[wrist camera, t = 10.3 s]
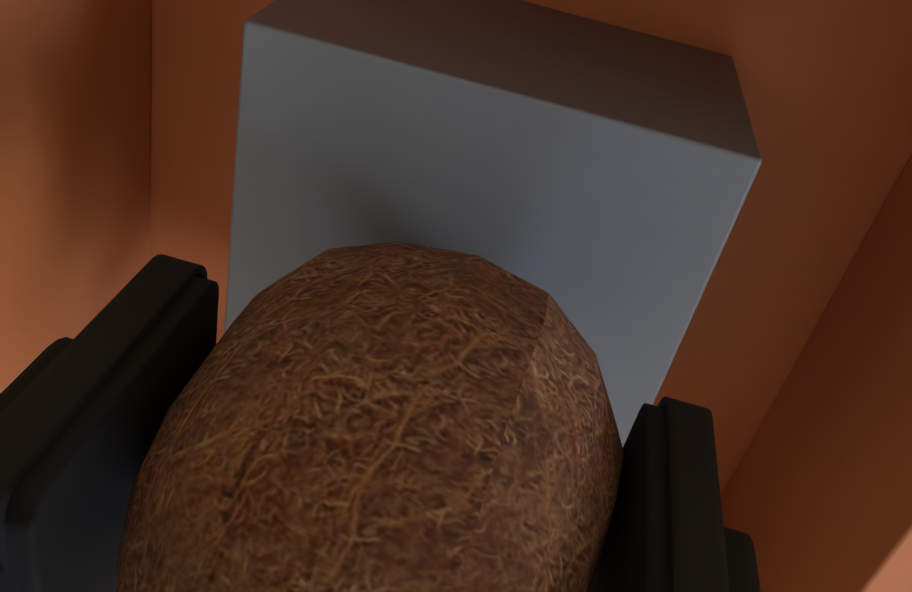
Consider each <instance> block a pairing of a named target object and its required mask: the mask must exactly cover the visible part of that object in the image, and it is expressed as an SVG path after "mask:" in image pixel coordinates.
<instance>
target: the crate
mask: <svg viewBox="0 0 912 592" xmlns="http://www.w3.org/2000/svg"><path fill="white" fill-rule="evenodd" d="M273 1H274V0H0V394H1V393H2V392H3V391H4V390H5V389H6V388H7V387H8V386H9V385H10V384H11V383H12V382H13V381H14V380H15V379H16V378H17V377H18V376H19V375H20V374H21V373H22V372H23V371H24V370H25V369H26V368H27V367H28V366H29V365H30V364H31V363H32V362H33V361H34V360H35V359H36V358H37V357H38V356H39V355H40V354H41V353H42V352H43V351H44V350H45V349H46V348H47V347H48V346H49V345H51V344H52V343H53V342H54V341H56V340H57V339H60V338H64V337H68V338H72V339H74V338H75V337H76V336H77V335H78V334H79V333H80V332H81V331H82V330H83V329H84V328H85V327H86V326H87V325H88V324H89V323H90V322H91V321H92V320H93V319H94V317H95V316H96V315H97V314H98V313H99V312H100V311H101V310H102V309H103V308H104V307H105V306H106V305H107V304H108V303H109V302H110V301H111V300H112V299H113V298H114V297H115V296H116V295H117V294H118V293H119V292H120V291H121V290H122V289H123V288H124V287H125V286H126V285H127V284H128V283H129V282H130V280H131V279H132V278H133V277H134V276H135V275H136V274H137V273H138V272H139V271H140V270H141V269H142V268H143V267H144V266H145V265H146V264H147V263H148V262H149V261H150V260H151V259H152V258H153V257H155V256H156V255H157V254H164V255H167V256H171V257H174V258H178V259H182V260H185V261H189V262H192V263H196V264H199V265H203V266H204V267H205V268H206V271H207V279H209V280H213V281H216V282H217V283H218V286H219V301H218V319H217V336H216V344H217V343H218V342H219V340H220V339H221V337H222V336H223V335H224V325H225V309H226V293H227V278H228V262H229V246H230V230H231V214H232V198H233V182H234V167H235V151H236V135H237V119H238V103H239V87H240V71H241V56H242V40H243V24H244V21H245V20H246V19H248V18H249V17H251V16H252V15H253V14H255V13H256V12H258V11H259V10H261V9H262V8H264V7H265V6H267V5H268V4H270V3H271V2H273ZM521 1H524V2H528V3H532V4H536V5H540V6H543V7H547V8H551V9H555V10H558V11H562V12H566V13H570V14H574V15H577V16H581V17H585V18H589V19H593V20H596V21H600V22H604V23H608V24H611V25H615V26H619V27H623V28H627V29H630V30H634V31H638V32H642V33H645V34H649V35H653V36H657V37H661V38H664V39H668V40H672V41H676V42H680V43H683V44H687V45H691V46H695V47H698V48H702V49H706V50H710V51H714V52H717V53H721V54H725V55H729V56H731V57H732V58H733V60H734V64H735V67H736V71H737V74H738V78H739V81H740V85H741V88H742V92H743V95H744V99H745V102H746V106H747V109H748V113H749V116H750V120H751V123H752V127H753V130H754V134H755V137H756V141H757V144H758V148H759V151H760V155H761V158H762V163H761V165H760V168H759V170H758V172H757V174H756V177H755V179H754V181H753V183H752V185H751V188H750V190H749V192H748V194H747V197H746V199H745V201H744V203H743V205H742V208H741V210H740V212H739V214H738V217H737V219H736V221H735V223H734V225H733V228H732V230H731V232H730V234H729V237H728V239H727V241H726V243H725V245H724V248H723V250H722V252H721V254H720V257H719V259H718V261H717V263H716V265H715V268H714V270H713V272H712V274H711V276H710V279H709V281H708V283H707V285H706V288H705V290H704V292H703V294H702V296H701V299H700V301H699V303H698V305H697V308H696V310H695V312H694V314H693V316H692V319H691V321H690V323H689V325H688V328H687V330H686V332H685V334H684V336H683V339H682V341H681V343H680V345H679V348H678V350H677V352H676V354H675V356H674V359H673V361H672V363H671V365H670V368H669V370H668V372H667V374H666V376H665V379H664V381H663V383H662V385H661V387H660V390H659V392H658V394H657V396H656V399H655V401H654V403H653V405H654V406H657V405H658V404H659V402H660V400H661V399H662V398H663V397H665V396H666V397H670V398H673V399H677V400H680V401H684V402H687V403H691V404H694V405H698V406H701V407H705V408H708V409H710V410H711V412H712V416H713V426H714V436H715V446H716V456H717V467H718V477H719V487H720V497H721V508H722V518H723V527H727V528H730V529H734V530H737V531H740V532H744V533H747V534H748V535H749V536H750V538H751V539H752V541H753V545H754V549H755V553H756V561H757V568H758V575H759V583H760V590H761V592H912V0H521Z"/></svg>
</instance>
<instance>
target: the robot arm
mask: <svg viewBox="0 0 912 592" xmlns="http://www.w3.org/2000/svg"><path fill="white" fill-rule="evenodd" d="M218 301H219V286H218V283H217V282H216V281H213V280H209V279H207V271H206V268H205V267H204V266H203V265H199V264H196V263H192V262H189V261H185V260H182V259H178V258H174V257H171V256H167V255H164V254H157V255H156V256H155V257H153V258H152V259H151V260H150V261H149V262H148V263H147V264H146V265H145V266H144V267H143V268H142V269H141V270H140V271H139V272H138V273H137V274H136V275H135V276H134V277H133V278H132V279H131V280H130V282H129V283H128V284H127V285H126V286H125V287H124V288H123V289H122V290H121V291H120V292H119V293H118V294H117V295H116V296H115V297H114V298H113V299H112V300H111V301H110V302H109V303H108V304H107V305H106V306H105V307H104V308H103V309H102V310H101V311H100V312H99V313H98V314H97V315H96V316H95V317H94V319H93V320H92V321H91V322H90V323H89V324H88V325H87V326H86V327H85V328H84V329H83V330H82V331H81V332H80V333H79V334H78V335H77V336H76V337H75V338H74V339H72V338H68V337H64V338H60V339H57V340H56V341H54V342H53V343H52V344H51V345H49V346H48V347H47V348H46V349H45V350H44V351H43V352H42V353H41V354H40V355H39V356H38V357H37V358H36V359H35V360H34V361H33V362H32V363H31V364H30V365H29V366H28V367H27V368H26V369H25V370H24V371H23V372H22V373H21V374H20V375H19V376H18V377H17V378H16V379H15V380H14V381H13V382H12V383H11V384H10V385H9V386H8V387H7V388H6V389H5V390H4V391H3V392H2V393H1V394H0V592H116V575H117V557H118V548H119V544H120V540H121V535H122V531H123V526H124V522H125V518H126V513H127V509H128V504H129V500H130V496H131V491H132V487H133V483H134V480H135V478H136V476H137V474H138V471H139V469H140V467H141V465H142V463H143V461H144V459H145V457H146V455H147V453H148V451H149V449H150V446H151V444H152V442H153V440H154V438H155V436H156V434H157V432H158V430H159V428H160V426H161V424H162V422H163V419H164V417H165V415H166V413H167V411H168V409H169V407H170V406H171V405H172V403H173V402H174V401H175V399H176V398H177V397H178V395H179V394H180V392H181V391H182V390H183V388H184V387H185V386H186V384H187V383H188V382H189V380H190V379H191V378H192V376H193V375H194V374H195V372H196V371H197V370H198V368H199V367H200V366H201V364H202V363H203V362H204V360H205V359H206V358H207V356H208V355H209V354H210V352H211V351H212V350H213V348H214V347H215V346H216V336H217V319H218ZM623 450H624V457H623V463H622V469H621V475H620V480H619V486H618V492H617V498H616V502H615V506H614V510H613V513H612V517H611V521H610V525H609V529H608V533H607V537H606V541H605V544H604V548H603V552H602V556H601V560H600V564H599V567H598V571H597V574H596V578H595V581H594V585H593V588H592V591H591V592H761V590H760V583H759V575H758V568H757V561H756V553H755V549H754V545H753V541H752V539H751V538H750V536H749V535H748V534H747V533H744V532H740V531H737V530H734V529H730V528H727V527H723V518H722V508H721V497H720V487H719V477H718V467H717V456H716V446H715V436H714V426H713V416H712V412H711V410H710V409H708V408H705V407H701V406H698V405H694V404H691V403H687V402H684V401H680V400H677V399H673V398H670V397H666V396H665V397H663V398H662V399H661V400H660V402H659V404H658V405H657V406H654V405H651V404H647V403H644V404H643V405H642V406H641V408H640V410H639V412H638V415H637V417H636V419H635V421H634V424H633V426H632V428H631V430H630V433H629V435H628V437H627V440H626V442H625V444H624V446H623Z"/></svg>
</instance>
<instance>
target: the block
mask: <svg viewBox="0 0 912 592" xmlns="http://www.w3.org/2000/svg"><path fill="white" fill-rule="evenodd" d="M761 163H762V158H761V155H760V151H759V148H758V144H757V141H756V137H755V134H754V130H753V127H752V123H751V120H750V116H749V113H748V109H747V106H746V102H745V99H744V95H743V92H742V88H741V85H740V81H739V78H738V74H737V71H736V67H735V64H734V60H733V58H732V57H731V56H729V55H725V54H721V53H717V52H714V51H710V50H706V49H702V48H698V47H695V46H691V45H687V44H683V43H680V42H676V41H672V40H668V39H664V38H661V37H657V36H653V35H649V34H645V33H642V32H638V31H634V30H630V29H627V28H623V27H619V26H615V25H611V24H608V23H604V22H600V21H596V20H593V19H589V18H585V17H581V16H577V15H574V14H570V13H566V12H562V11H558V10H555V9H551V8H547V7H543V6H540V5H536V4H532V3H528V2H524V1H521V0H274V1H273V2H271V3H270V4H268V5H267V6H265V7H264V8H262V9H261V10H259V11H258V12H256V13H255V14H253V15H252V16H251V17H249V18H248V19H246V20H245V21H244V24H243V40H242V56H241V71H240V87H239V103H238V119H237V135H236V151H235V167H234V182H233V198H232V214H231V230H230V246H229V262H228V278H227V293H226V309H225V325H224V333H225V332H226V331H227V329H228V328H229V327H230V325H231V324H232V323H233V321H234V320H235V319H236V318H237V317H238V316H239V314H240V313H241V312H242V311H243V310H244V308H245V307H246V306H247V305H248V304H249V302H250V301H251V300H252V299H253V298H254V296H255V295H256V294H258V293H259V292H261V291H262V290H264V289H265V288H267V287H268V286H270V285H271V284H273V283H274V282H276V281H277V280H279V279H280V278H282V277H284V276H285V275H287V274H288V273H290V272H292V271H293V270H295V269H296V268H298V267H300V266H301V265H303V264H304V263H306V262H308V261H309V260H311V259H313V258H314V257H316V256H317V255H319V254H321V253H322V252H324V251H325V250H327V249H329V248H339V247H349V246H360V245H370V244H380V243H390V242H404V243H410V244H415V245H421V246H427V247H433V248H439V249H445V250H450V251H456V252H462V253H468V254H474V255H477V256H480V257H482V258H484V259H485V260H487V261H489V262H491V263H493V264H495V265H497V266H499V267H501V268H503V269H504V270H506V271H508V272H510V273H512V274H514V275H516V276H518V277H520V278H522V279H523V280H525V281H527V282H529V283H531V284H533V285H535V286H537V287H539V288H540V289H542V290H544V291H546V292H548V293H549V294H550V295H551V296H552V298H553V299H554V300H555V302H556V303H557V304H558V306H559V307H560V308H561V309H562V311H563V312H564V313H565V315H566V316H567V317H568V319H569V320H570V321H571V322H572V324H573V325H574V326H575V328H576V329H577V330H578V332H579V333H580V334H581V336H582V337H583V338H584V339H585V341H586V342H587V343H588V345H589V346H590V347H591V349H592V350H593V351H594V352H595V354H596V357H597V360H598V363H599V367H600V370H601V373H602V377H603V380H604V383H605V387H606V390H607V393H608V397H609V400H610V404H611V407H612V410H613V414H614V417H615V421H616V424H617V428H618V432H619V435H620V439H621V443H622V447H623V446H624V444H625V442H626V440H627V437H628V435H629V433H630V430H631V428H632V426H633V424H634V421H635V419H636V417H637V415H638V412H639V410H640V408H641V406H642V405H643V404H644V403H647V404H651V405H653V403H654V401H655V399H656V396H657V394H658V392H659V390H660V387H661V385H662V383H663V381H664V379H665V376H666V374H667V372H668V370H669V368H670V365H671V363H672V361H673V359H674V356H675V354H676V352H677V350H678V348H679V345H680V343H681V341H682V339H683V336H684V334H685V332H686V330H687V328H688V325H689V323H690V321H691V319H692V316H693V314H694V312H695V310H696V308H697V305H698V303H699V301H700V299H701V296H702V294H703V292H704V290H705V288H706V285H707V283H708V281H709V279H710V276H711V274H712V272H713V270H714V268H715V265H716V263H717V261H718V259H719V257H720V254H721V252H722V250H723V248H724V245H725V243H726V241H727V239H728V237H729V234H730V232H731V230H732V228H733V225H734V223H735V221H736V219H737V217H738V214H739V212H740V210H741V208H742V205H743V203H744V201H745V199H746V197H747V194H748V192H749V190H750V188H751V185H752V183H753V181H754V179H755V177H756V174H757V172H758V170H759V168H760V165H761Z"/></svg>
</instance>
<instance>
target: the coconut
mask: <svg viewBox="0 0 912 592" xmlns="http://www.w3.org/2000/svg"><path fill="white" fill-rule="evenodd" d="M623 457H624V450H623V447H622V443H621V439H620V435H619V432H618V428H617V424H616V421H615V417H614V414H613V410H612V407H611V404H610V400H609V397H608V393H607V390H606V387H605V383H604V380H603V377H602V373H601V370H600V367H599V363H598V360H597V357H596V354H595V352H594V351H593V350H592V349H591V347H590V346H589V345H588V343H587V342H586V341H585V339H584V338H583V337H582V336H581V334H580V333H579V332H578V330H577V329H576V328H575V326H574V325H573V324H572V322H571V321H570V320H569V319H568V317H567V316H566V315H565V313H564V312H563V311H562V309H561V308H560V307H559V306H558V304H557V303H556V302H555V300H554V299H553V298H552V296H551V295H550V294H549V293H548V292H546V291H544V290H542V289H540V288H539V287H537V286H535V285H533V284H531V283H529V282H527V281H525V280H523V279H522V278H520V277H518V276H516V275H514V274H512V273H510V272H508V271H506V270H504V269H503V268H501V267H499V266H497V265H495V264H493V263H491V262H489V261H487V260H485V259H484V258H482V257H480V256H477V255H474V254H468V253H462V252H456V251H450V250H445V249H439V248H433V247H427V246H421V245H415V244H410V243H404V242H390V243H380V244H370V245H360V246H349V247H339V248H329V249H327V250H325V251H324V252H322V253H321V254H319V255H317V256H316V257H314V258H313V259H311V260H309V261H308V262H306V263H304V264H303V265H301V266H300V267H298V268H296V269H295V270H293V271H292V272H290V273H288V274H287V275H285V276H284V277H282V278H280V279H279V280H277V281H276V282H274V283H273V284H271V285H270V286H268V287H267V288H265V289H264V290H262V291H261V292H259V293H258V294H256V295H255V296H254V298H253V299H252V300H251V301H250V302H249V304H248V305H247V306H246V307H245V308H244V310H243V311H242V312H241V313H240V314H239V316H238V317H237V318H236V319H235V320H234V321H233V323H232V324H231V325H230V327H229V328H228V329H227V331H226V332H225V333H224V335H223V336H222V337H221V339H220V340H219V342H218V343H217V344H216V346H215V347H214V348H213V350H212V351H211V352H210V354H209V355H208V356H207V358H206V359H205V360H204V362H203V363H202V364H201V366H200V367H199V368H198V370H197V371H196V372H195V374H194V375H193V376H192V378H191V379H190V380H189V382H188V383H187V384H186V386H185V387H184V388H183V390H182V391H181V392H180V394H179V395H178V397H177V398H176V399H175V401H174V402H173V403H172V405H171V406H170V407H169V409H168V411H167V413H166V415H165V417H164V419H163V422H162V424H161V426H160V428H159V430H158V432H157V434H156V436H155V438H154V440H153V442H152V444H151V446H150V449H149V451H148V453H147V455H146V457H145V459H144V461H143V463H142V465H141V467H140V469H139V471H138V474H137V476H136V478H135V480H134V483H133V487H132V491H131V496H130V500H129V504H128V509H127V513H126V518H125V522H124V526H123V531H122V535H121V540H120V544H119V548H118V557H117V575H116V592H591V591H592V588H593V585H594V581H595V578H596V574H597V571H598V567H599V564H600V560H601V556H602V552H603V548H604V544H605V541H606V537H607V533H608V529H609V525H610V521H611V517H612V513H613V510H614V506H615V502H616V498H617V492H618V486H619V480H620V475H621V469H622V463H623Z"/></svg>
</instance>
